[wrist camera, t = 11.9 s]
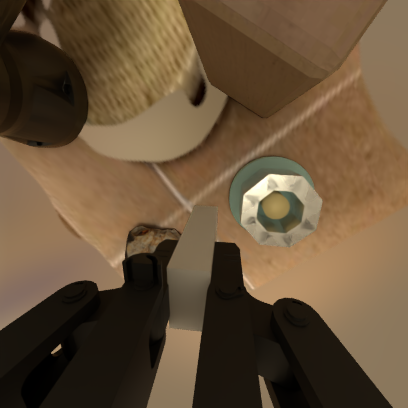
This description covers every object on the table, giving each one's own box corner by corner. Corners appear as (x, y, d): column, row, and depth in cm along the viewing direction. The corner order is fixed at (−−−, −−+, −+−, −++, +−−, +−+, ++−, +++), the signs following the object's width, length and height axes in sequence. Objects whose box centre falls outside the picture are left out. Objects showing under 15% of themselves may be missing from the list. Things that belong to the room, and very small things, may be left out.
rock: (130, 258, 39) (177, 279, 36) (108, 268, 33) (162, 292, 31) (142, 215, 38) (190, 233, 36) (122, 217, 33) (178, 238, 30)
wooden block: (314, 47, 26) (553, -224, 7) (266, 121, 29) (334, 82, 10) (247, 2, 25) (296, -426, 6) (206, 82, 28) (154, -38, 9)
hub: (213, 196, 33) (210, 207, 27) (271, 138, 29) (280, 137, 24) (266, 244, 34) (273, 265, 28) (327, 195, 30) (348, 207, 25)
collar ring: (237, 224, 32) (238, 242, 26) (243, 166, 29) (245, 172, 23) (296, 229, 31) (311, 249, 25) (308, 170, 28) (327, 177, 22)
